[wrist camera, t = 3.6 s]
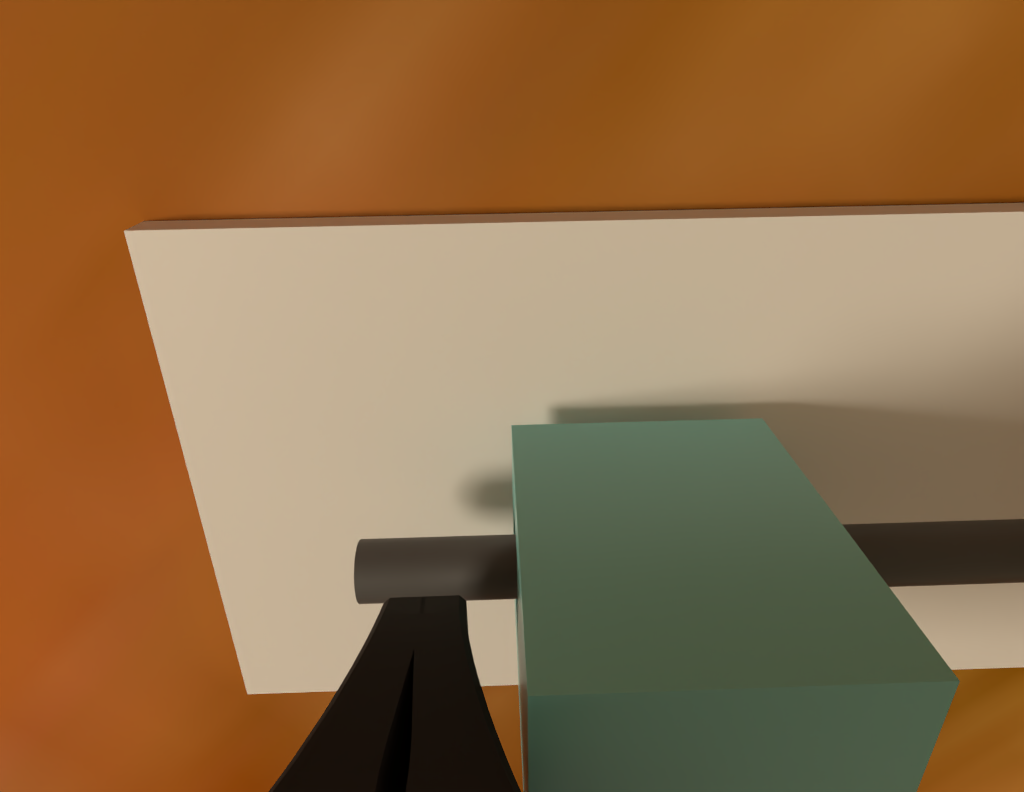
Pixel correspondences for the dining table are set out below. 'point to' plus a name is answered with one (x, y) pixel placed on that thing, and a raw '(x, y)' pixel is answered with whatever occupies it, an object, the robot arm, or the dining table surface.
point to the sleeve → (705, 621)
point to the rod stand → (581, 397)
